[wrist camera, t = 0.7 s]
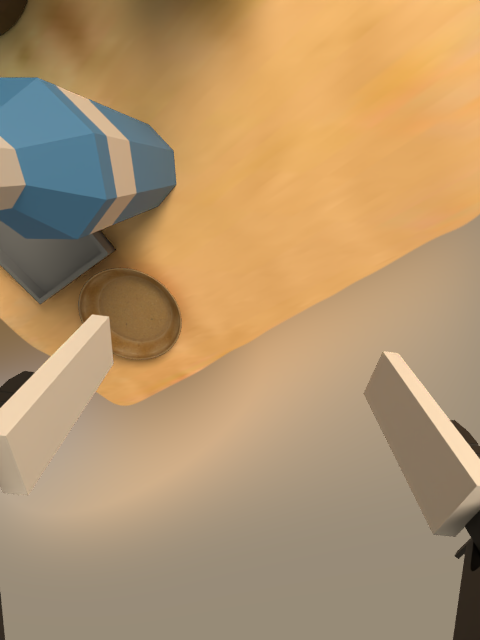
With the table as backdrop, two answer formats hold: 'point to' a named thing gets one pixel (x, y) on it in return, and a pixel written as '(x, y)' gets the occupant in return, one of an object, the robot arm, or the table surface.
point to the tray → (49, 260)
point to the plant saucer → (133, 312)
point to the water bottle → (74, 162)
